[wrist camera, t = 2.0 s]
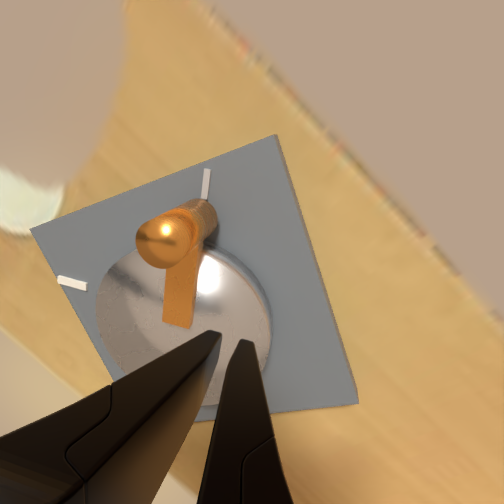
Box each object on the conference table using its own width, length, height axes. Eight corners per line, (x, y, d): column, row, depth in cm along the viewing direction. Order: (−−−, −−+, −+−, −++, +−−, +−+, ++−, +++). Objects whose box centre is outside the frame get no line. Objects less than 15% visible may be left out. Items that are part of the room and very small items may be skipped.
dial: (256, 404, 24) (238, 476, 19) (112, 360, 26) (60, 416, 21) (300, 219, 19) (291, 251, 14) (114, 177, 21) (43, 192, 15)
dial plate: (148, 414, 30) (138, 429, 28) (45, 223, 25) (27, 229, 23) (356, 388, 24) (359, 405, 23) (276, 134, 19) (272, 134, 18)
